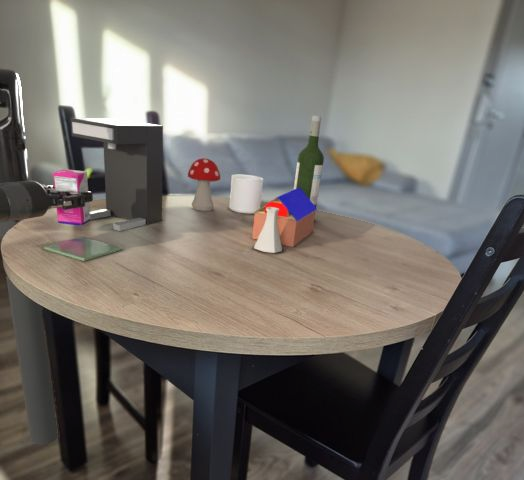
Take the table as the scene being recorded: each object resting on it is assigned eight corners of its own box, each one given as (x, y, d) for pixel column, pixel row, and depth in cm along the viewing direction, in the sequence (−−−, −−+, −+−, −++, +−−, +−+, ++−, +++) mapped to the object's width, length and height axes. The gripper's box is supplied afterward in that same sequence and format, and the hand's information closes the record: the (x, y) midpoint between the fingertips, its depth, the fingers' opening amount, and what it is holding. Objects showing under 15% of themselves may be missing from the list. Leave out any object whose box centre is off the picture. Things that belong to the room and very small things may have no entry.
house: (313, 231, 141) (319, 190, 135) (293, 247, 124) (300, 201, 118) (274, 224, 144) (279, 183, 138) (250, 238, 127) (255, 192, 121)
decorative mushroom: (186, 210, 147) (188, 158, 140) (186, 204, 154) (188, 154, 147) (219, 213, 149) (222, 162, 142) (217, 207, 156) (220, 158, 149)
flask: (259, 243, 124) (264, 203, 119) (286, 248, 122) (291, 208, 117) (249, 249, 118) (253, 208, 113) (276, 255, 116) (281, 213, 111)
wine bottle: (292, 215, 158) (306, 114, 144) (316, 219, 156) (332, 117, 142) (287, 219, 151) (301, 114, 137) (311, 223, 150) (328, 117, 136)
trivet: (44, 249, 101) (44, 246, 101) (83, 239, 110) (83, 236, 110) (83, 261, 97) (83, 258, 97) (121, 250, 106) (120, 247, 106)
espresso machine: (76, 220, 124) (68, 117, 113) (122, 210, 138) (119, 118, 127) (118, 231, 119) (114, 125, 108) (162, 220, 133) (163, 125, 122)
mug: (255, 215, 152) (259, 181, 147) (225, 210, 153) (227, 176, 148) (264, 208, 163) (268, 176, 158) (236, 203, 164) (238, 172, 159)
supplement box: (66, 217, 117) (63, 168, 112) (90, 221, 117) (88, 171, 112) (56, 223, 112) (52, 171, 106) (81, 226, 112) (78, 174, 106)
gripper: (40, 188, 95) (101, 181, 109) (-8, 175, 100) (55, 171, 114) (44, 226, 99) (102, 215, 112) (-3, 212, 104) (58, 203, 117)
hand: (78, 193), depth 113 cm, fingers closed on supplement box, 7 cm apart
